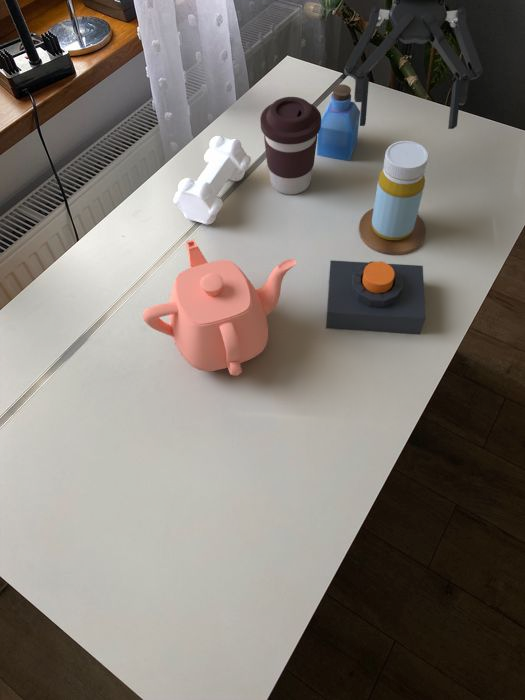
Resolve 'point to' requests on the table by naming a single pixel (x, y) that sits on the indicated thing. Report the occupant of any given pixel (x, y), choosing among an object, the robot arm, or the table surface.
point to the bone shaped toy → (212, 180)
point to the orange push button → (378, 277)
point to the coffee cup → (290, 142)
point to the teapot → (217, 312)
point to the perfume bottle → (339, 125)
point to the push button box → (375, 300)
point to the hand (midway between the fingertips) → (407, 126)
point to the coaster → (387, 245)
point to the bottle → (399, 190)
